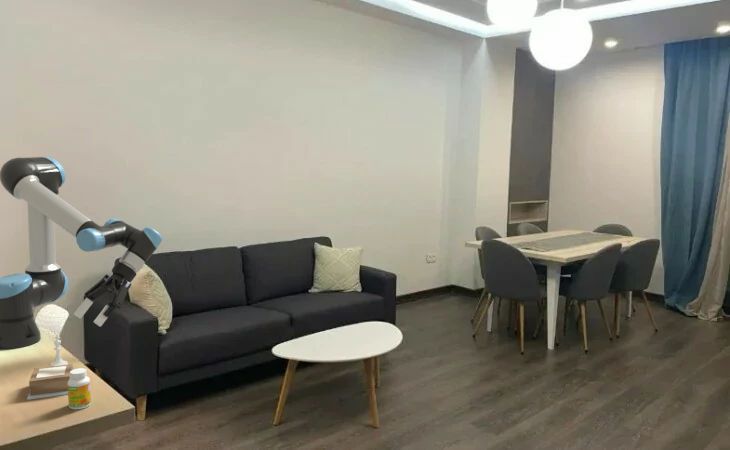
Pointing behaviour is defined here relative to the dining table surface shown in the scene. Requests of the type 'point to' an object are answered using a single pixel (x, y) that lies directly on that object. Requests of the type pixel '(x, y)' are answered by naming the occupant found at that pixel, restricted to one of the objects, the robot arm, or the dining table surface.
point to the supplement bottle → (79, 389)
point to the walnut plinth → (50, 379)
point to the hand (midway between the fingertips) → (86, 320)
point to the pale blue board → (47, 395)
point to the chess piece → (58, 354)
